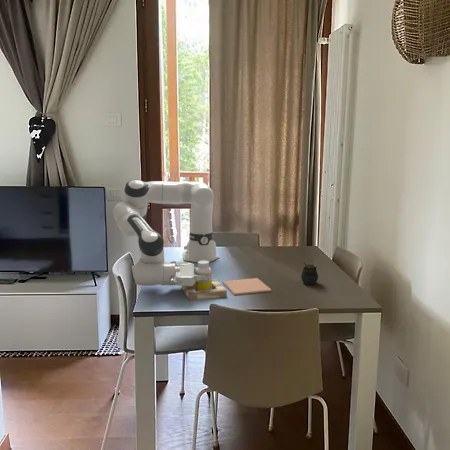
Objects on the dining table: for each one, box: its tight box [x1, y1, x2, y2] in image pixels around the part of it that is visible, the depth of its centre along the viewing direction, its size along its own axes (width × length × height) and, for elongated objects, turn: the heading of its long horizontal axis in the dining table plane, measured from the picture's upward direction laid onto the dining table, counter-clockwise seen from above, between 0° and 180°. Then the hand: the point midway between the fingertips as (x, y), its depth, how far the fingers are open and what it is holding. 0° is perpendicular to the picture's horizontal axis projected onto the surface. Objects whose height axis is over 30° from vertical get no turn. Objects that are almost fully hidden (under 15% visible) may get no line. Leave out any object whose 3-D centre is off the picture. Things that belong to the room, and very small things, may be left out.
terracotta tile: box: [222, 277, 272, 296], centre depth 199 cm, size 16×16×1 cm
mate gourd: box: [300, 262, 319, 285], centre depth 204 cm, size 7×8×10 cm
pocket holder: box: [181, 278, 228, 301], centre depth 193 cm, size 15×15×2 cm
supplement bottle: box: [194, 261, 213, 291], centre depth 192 cm, size 7×7×13 cm
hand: (205, 273), depth 191 cm, fingers closed on supplement bottle, 7 cm apart
